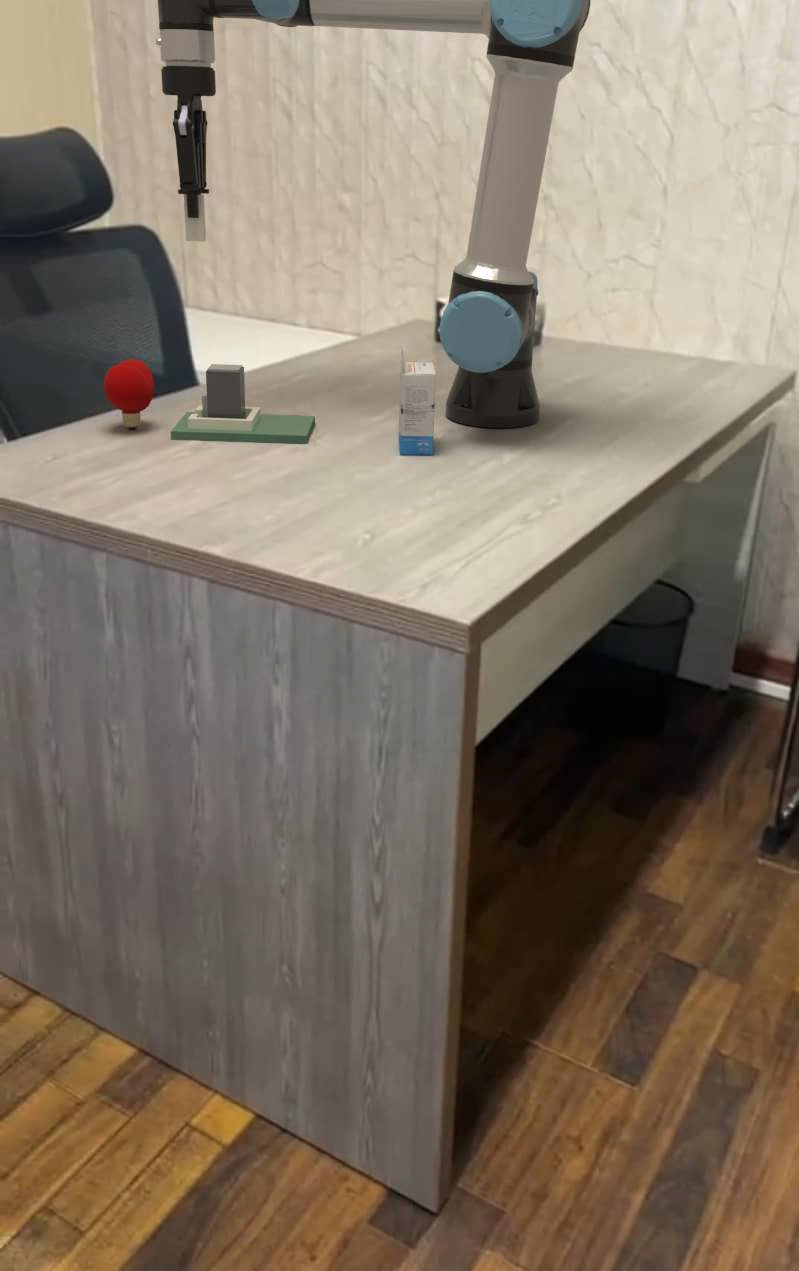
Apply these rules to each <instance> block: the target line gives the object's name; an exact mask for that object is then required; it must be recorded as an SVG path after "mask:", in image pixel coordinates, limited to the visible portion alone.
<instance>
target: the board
mask: <svg viewBox="0 0 799 1271" xmlns="http://www.w3.org/2000/svg"><path fill="white" fill-rule="evenodd" d="M245 416H246V419H230V418H203V408H202V404H201V405H198V406H197V407H196V408H195V409H194V411H186V413H184V415H183V416H182V417H181V419H179V421H178V422H177V423H176V425H175V426H174V427H173V428H172V429H171V430H170V440H183V441H212V442H213V441H214V442H215V441H216V442H218V441H219V442H246V443H268V444H269V443H273V444H299V445H307V444H308V442H309V440H310V436H311V433H313V430H314V427H315V425H316V416H315V415H295V414H293V415H292V414H264V413H261V407H260V406H258V407H257V406H245Z"/></svg>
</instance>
